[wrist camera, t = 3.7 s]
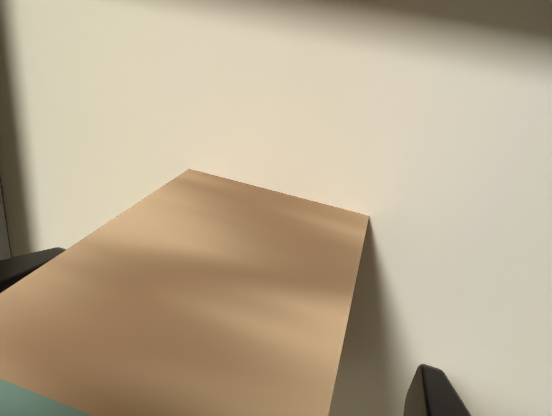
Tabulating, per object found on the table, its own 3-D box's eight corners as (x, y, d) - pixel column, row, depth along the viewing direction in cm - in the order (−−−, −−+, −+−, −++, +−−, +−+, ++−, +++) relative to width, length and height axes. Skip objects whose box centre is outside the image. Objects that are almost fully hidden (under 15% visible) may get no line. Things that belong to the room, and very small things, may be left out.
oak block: (369, 215, 9) (295, 581, 3) (328, 360, 11) (232, 762, 5) (189, 168, 10) (-145, 388, 4) (179, 310, 12) (-57, 606, 6)
